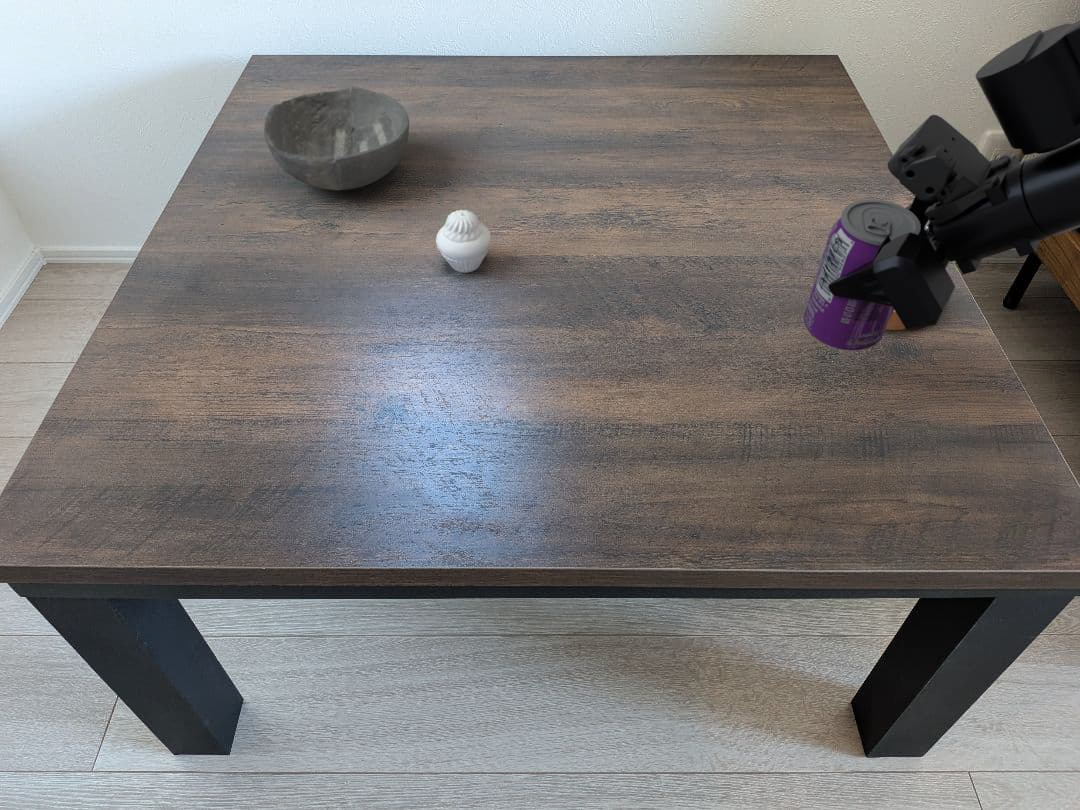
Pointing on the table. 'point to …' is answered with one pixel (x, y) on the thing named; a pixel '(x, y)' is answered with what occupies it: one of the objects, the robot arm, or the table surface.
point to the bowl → (337, 137)
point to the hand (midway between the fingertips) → (846, 268)
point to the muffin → (463, 241)
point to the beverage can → (843, 253)
